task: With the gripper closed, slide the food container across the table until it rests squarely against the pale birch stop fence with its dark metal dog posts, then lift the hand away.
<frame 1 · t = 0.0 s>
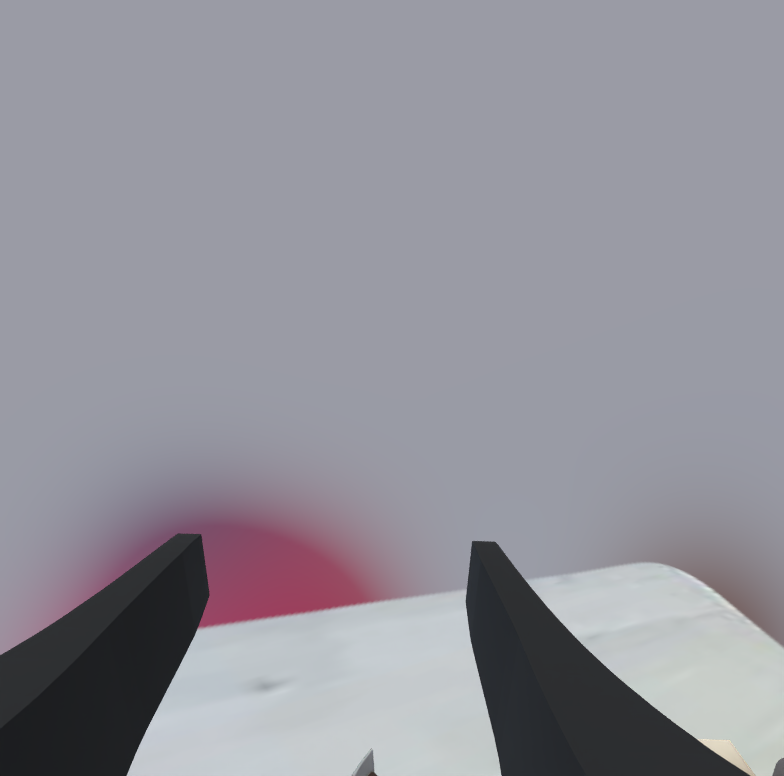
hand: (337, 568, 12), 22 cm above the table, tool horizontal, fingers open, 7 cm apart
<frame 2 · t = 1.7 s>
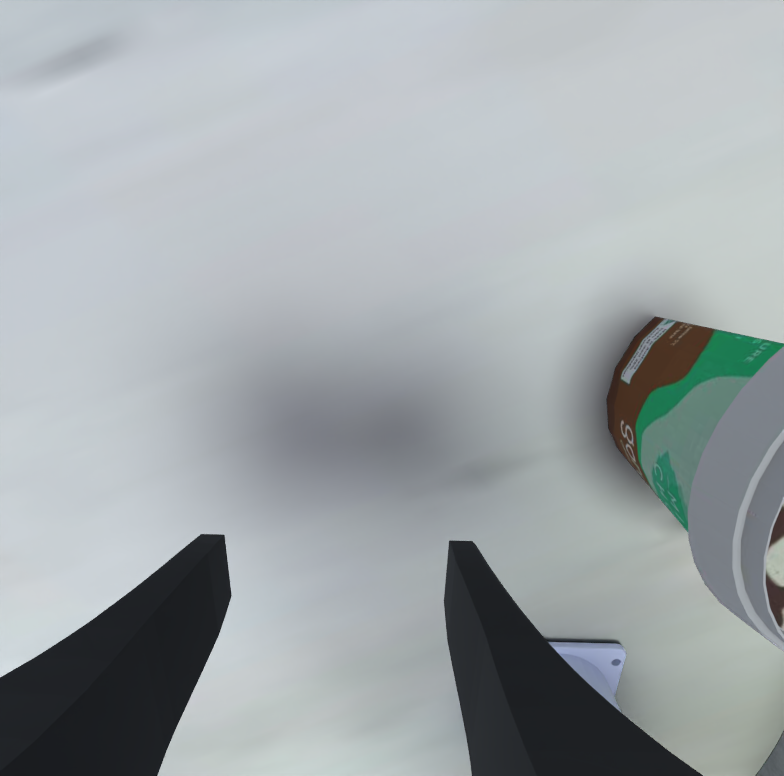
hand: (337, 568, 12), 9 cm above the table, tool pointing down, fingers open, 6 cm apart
food container: (655, 430, 21), on the table
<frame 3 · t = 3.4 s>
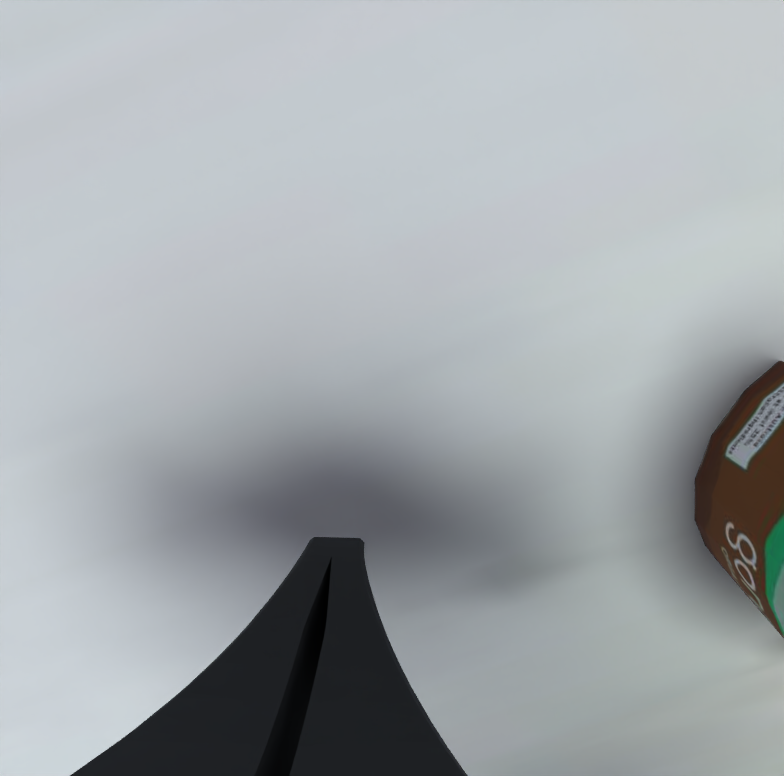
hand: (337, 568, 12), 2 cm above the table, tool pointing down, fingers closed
food container: (762, 520, 14), on the table
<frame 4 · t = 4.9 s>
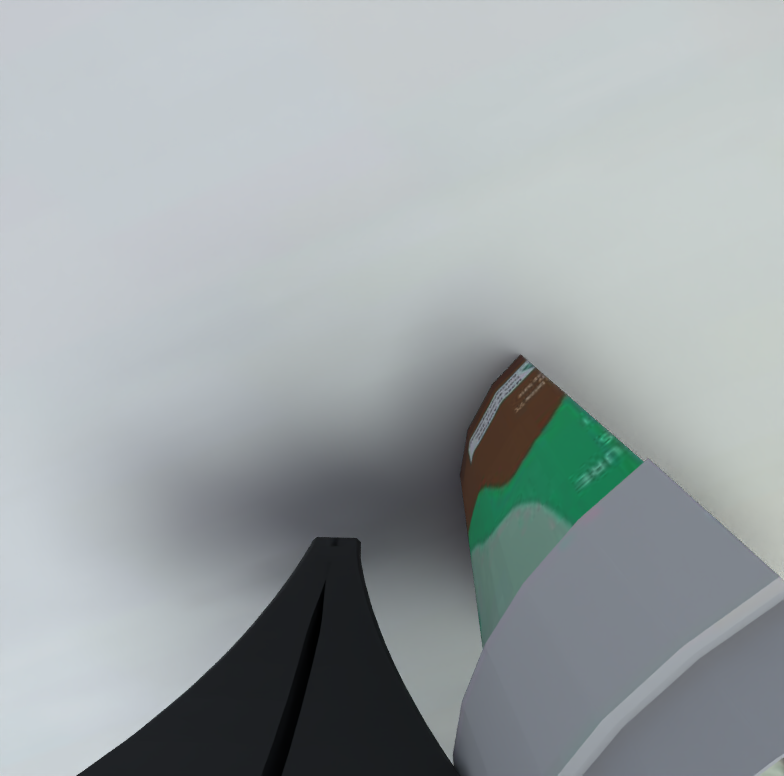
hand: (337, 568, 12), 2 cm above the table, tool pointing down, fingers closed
food container: (539, 516, 14), on the table, touching gripper
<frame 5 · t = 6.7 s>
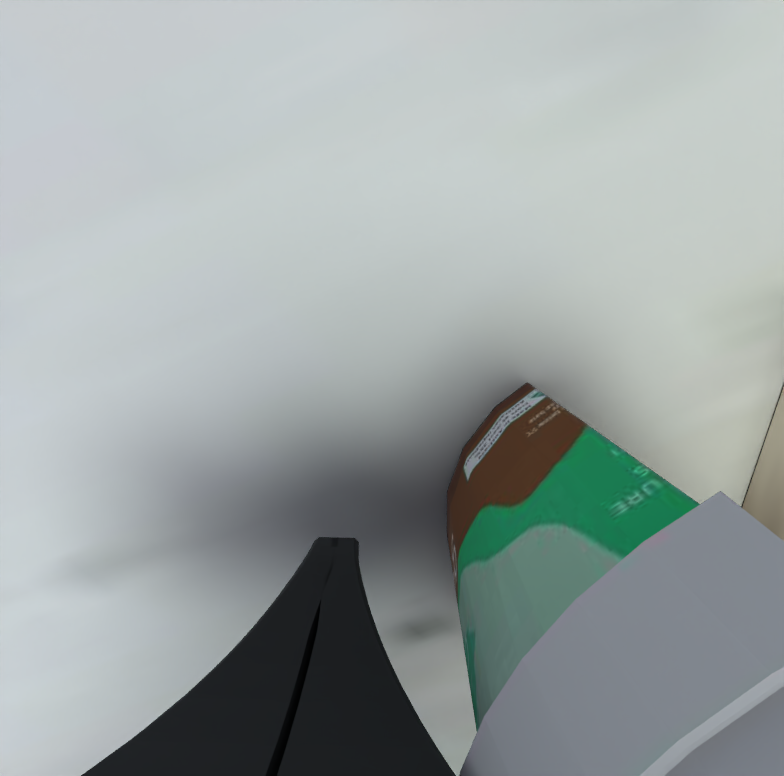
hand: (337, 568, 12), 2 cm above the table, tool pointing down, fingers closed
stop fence: (782, 526, 14), on the table
food container: (514, 543, 14), on the table, touching gripper
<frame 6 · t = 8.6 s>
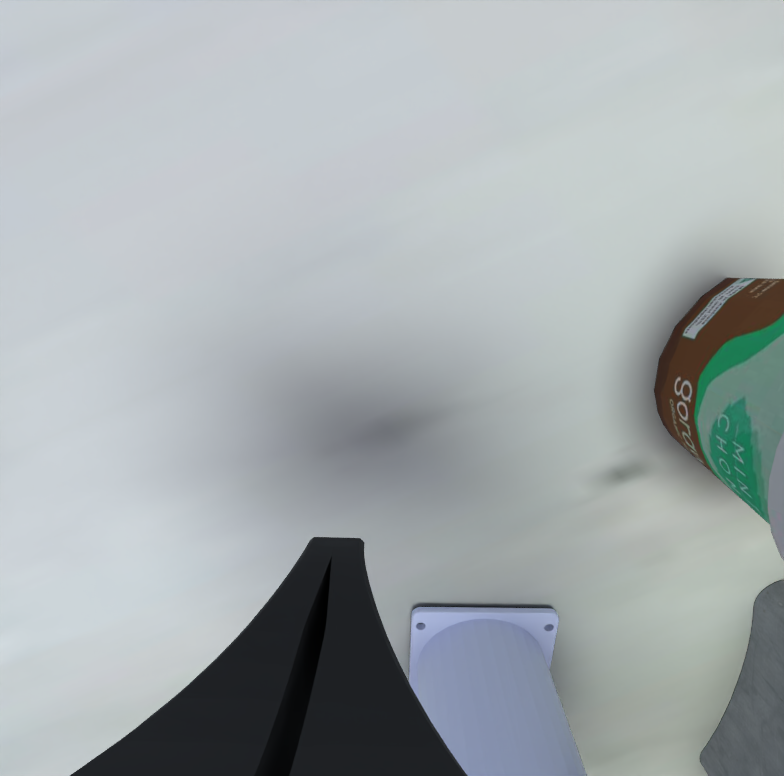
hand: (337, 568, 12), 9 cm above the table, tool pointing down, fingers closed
food container: (698, 400, 20), on the table
hip flask: (756, 680, 26), on the table
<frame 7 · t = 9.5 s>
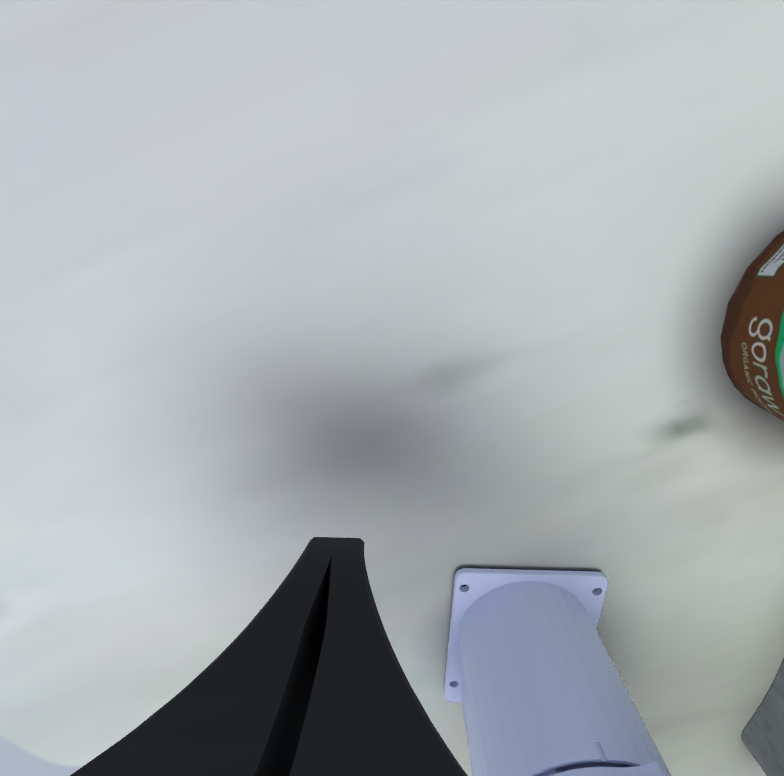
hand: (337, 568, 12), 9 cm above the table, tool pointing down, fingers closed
food container: (765, 350, 20), on the table
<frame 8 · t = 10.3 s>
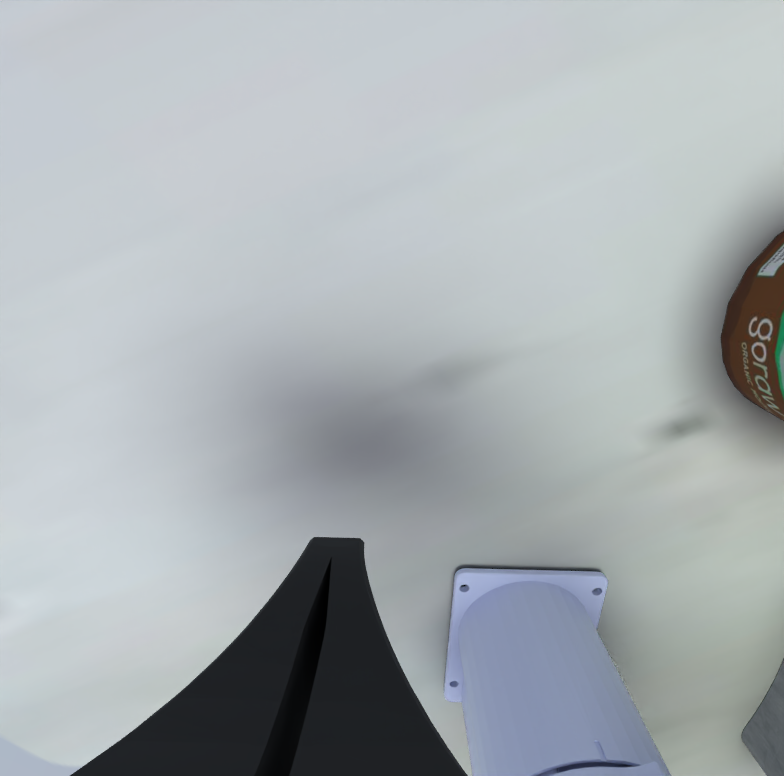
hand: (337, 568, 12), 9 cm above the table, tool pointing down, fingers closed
food container: (765, 350, 20), on the table
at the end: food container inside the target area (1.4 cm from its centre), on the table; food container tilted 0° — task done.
